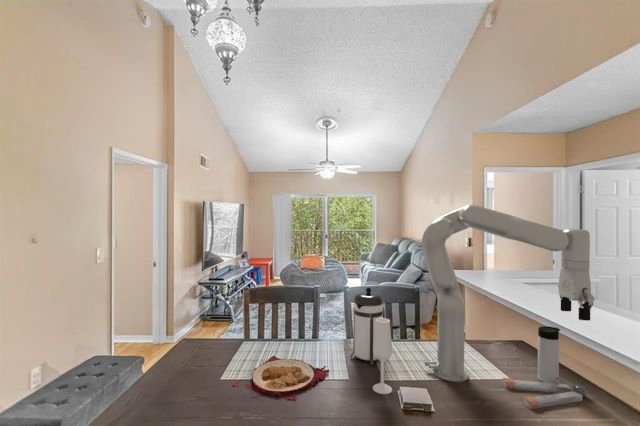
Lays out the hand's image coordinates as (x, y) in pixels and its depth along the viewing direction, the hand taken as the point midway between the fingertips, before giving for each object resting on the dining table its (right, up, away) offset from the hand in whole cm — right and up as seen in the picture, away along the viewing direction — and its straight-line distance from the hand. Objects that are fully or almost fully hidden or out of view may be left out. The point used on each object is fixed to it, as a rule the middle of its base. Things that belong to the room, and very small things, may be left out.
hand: (574, 315), depth 111 cm
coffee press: (-66, -27, +27) cm, 76 cm away
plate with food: (-101, -27, +9) cm, 105 cm away
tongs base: (-9, -27, +2) cm, 28 cm away
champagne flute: (-65, -27, +3) cm, 71 cm away
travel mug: (-4, -27, +8) cm, 28 cm away
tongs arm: (-11, -27, -5) cm, 29 cm away
